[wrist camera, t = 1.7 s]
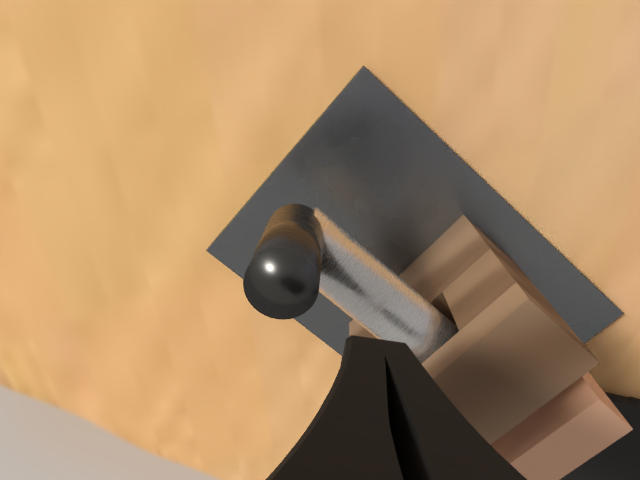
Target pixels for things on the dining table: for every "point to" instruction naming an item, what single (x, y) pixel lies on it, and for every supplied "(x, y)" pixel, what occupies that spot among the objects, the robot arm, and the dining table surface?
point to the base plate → (399, 205)
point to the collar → (563, 432)
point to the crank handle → (338, 281)
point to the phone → (616, 449)
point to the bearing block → (492, 332)
